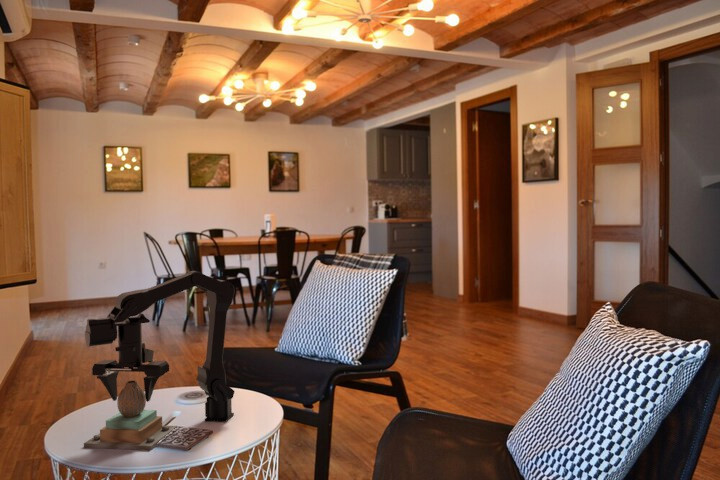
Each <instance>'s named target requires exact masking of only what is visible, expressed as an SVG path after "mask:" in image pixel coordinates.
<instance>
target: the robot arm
mask: <svg viewBox="0 0 720 480" xmlns="http://www.w3.org/2000/svg"><path fill="white" fill-rule="evenodd" d="M194 287H196V288H198V289H200V290H202V291H204V292H205V293H206V296H207V297H206V299H207V304H208V307H209V311H210V312H209V313H210V314H209V325H208V334H207V342H206V344H207V345H206V354H205V355H206V356H205V362H204V363H203V366H199V365H198V366H197V377H196V379H195V380H196V381H197V385H198V387H199V388H200V389H201V390H202V391H204V394H205V395H206V396H207V397H206V401H205V403H204V405H205V406H204V413H205V414H204V416H205V418H204V421H205V422H220V423H221V422H223V423H225V422H228V421H229V420H230V419H231V418H232V417H233V416H234V414H235V413H234V412H233V411H232V406H233V405H232V400H233V398H234V395H235V390H234V389H233V388H231V387H230V386H229V385H228V384H227V376H226V374H227V373H226V371H225V370H226V369H225V366H224V362H223V360H224V359H223V358H224V349H225V339H226V337H225V336H226V324H227V317H228V316H227V315H228V311H229V309H230V307H231V306H232V304H233V300H234V296H235V290H236V289H235V286H234V285H233V284H232V282H230V281H227V280H222V279H215V278H213V277H211V276H210V275H209V276H208V275H206V274H203V273H202V272H201V271H199V270H191V271H188V272H186V273H185V274H182V275H180V276H177V277H175V278H172V279H169V280H167V281H164V282H162V283H159V284H156V285H154V286H151V287H148V288H144V289H136V290H131V291H126V292H122V293H120V294H119V295H118V296H116V299H115V301H114V307H113V308H112V309H111V311H110V312H109V314H108V315H107V317H105V318H104V317H102V318H87V320H86V323H87V324H86V326H85V330H84V340H85V344H86V347H88V348H89V347H96V346H104V345H110V344H111V345H112V344H113V342H115V341H116V340H118V343H117V344H118V345H117V346H116V347H115V352H117V353H118V361H117V360H116V359H103V360H100V361H97V362H96V363H95V362H94V364H93V365H92V367H91V376H96V379H98V380H100V382H101V383H102V384H103V386H104V387H105V389H106V390H107V392H108V394H109V396H110V398H111V399H112V401H113V402H117V400H118V382H117V381H118V379H117V378H118V375H119V373H120V372H127V373H128V372H134V373H135V372H137V373H138V372H139V373H142V372H143V373H144V375H146V376H144V377H143V383H144V384H143V387H144V393H145V397H146V403H148V402H150V401H151V398H152V395H153V394H154V393H153V392H154V389H155V386H156V384H157V381H158V380H159V378H160V377H163V376H164V375H165V374H168V372H170V364H169V362H168V361H166V360H154V355H155V351H154V350H152V349H149V348H146V344H145V342H143V335H142V333H143V331H142V324H147V323H151V320H150V319H149V318H148V317H146V316H145V315H144V313H143V312H145V311H147V310H149V308H150V307H152V306H153V305H154V304H156V303H157V302H160V301H162V300H164V299H168V298H170V297H172V296H174V295H177V294H179V293H181V292H184V291H187V290H189V289H192V288H194ZM153 360H154V361H153ZM145 363H147V364H145Z"/></svg>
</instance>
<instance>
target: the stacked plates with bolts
mask: <svg viewBox="0 0 720 480" xmlns="http://www.w3.org/2000/svg"><path fill="white" fill-rule="evenodd" d="M157 414H158V413H157V410H156V409H144V410H143V412H142V413H141V414H140V415H138V416H136V417H124V416H123V415H122V414H121V413H120V412H118V413H116V414H114V415H113V416H111V417H110V418H108V419H106V420H105V426H104V427H102V428H100V429H99V433H98V434H95V435H93V437H92V438H90V439H88V440H86V441H85V442H84V443H83V448H92V449H93V448H94V449H95V448H96V449H97V448H98V449H114V450H115V449H119V450H141V451H145V450H146V451H152V450H153V449H154V448H156V447H157V446H158V445H157V443H158V442H159V441H160V440H161V439H162V438H163V437H165V436H166V435H167V434H169V433H170V432H171V431H172V430H173V429H175V428H177V429H178V425H163V416H161V415H160V416H157ZM156 445H157V446H156Z"/></svg>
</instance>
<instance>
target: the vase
mask: <svg viewBox="0 0 720 480" xmlns="http://www.w3.org/2000/svg"><path fill="white" fill-rule="evenodd" d="M116 402H117V404H116V405H117V409H118V413H121V414H122V415H123V416H124V417H136V416H138V415H140V414H141V413H142V412H143V410H145V407H146V403H147V401H146V397H145V390H144V389H143V388H142V387H141V386H140V385H139V383H138V381H137V380H128V381H126V383H125V385H124V387H123V388H122V389H121V391H120V392H119V394H118V395H117V400H116Z"/></svg>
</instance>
